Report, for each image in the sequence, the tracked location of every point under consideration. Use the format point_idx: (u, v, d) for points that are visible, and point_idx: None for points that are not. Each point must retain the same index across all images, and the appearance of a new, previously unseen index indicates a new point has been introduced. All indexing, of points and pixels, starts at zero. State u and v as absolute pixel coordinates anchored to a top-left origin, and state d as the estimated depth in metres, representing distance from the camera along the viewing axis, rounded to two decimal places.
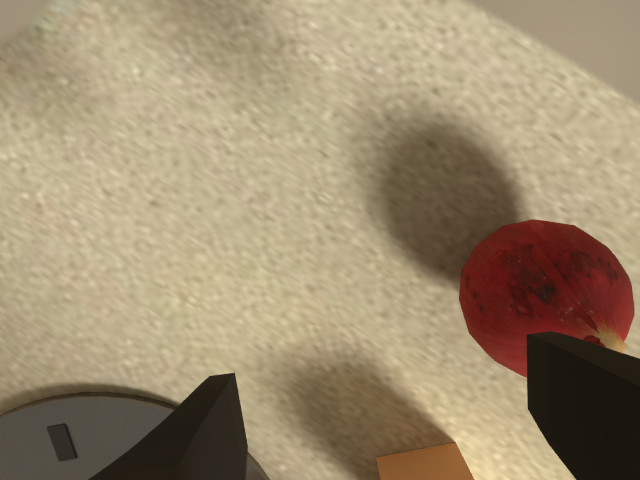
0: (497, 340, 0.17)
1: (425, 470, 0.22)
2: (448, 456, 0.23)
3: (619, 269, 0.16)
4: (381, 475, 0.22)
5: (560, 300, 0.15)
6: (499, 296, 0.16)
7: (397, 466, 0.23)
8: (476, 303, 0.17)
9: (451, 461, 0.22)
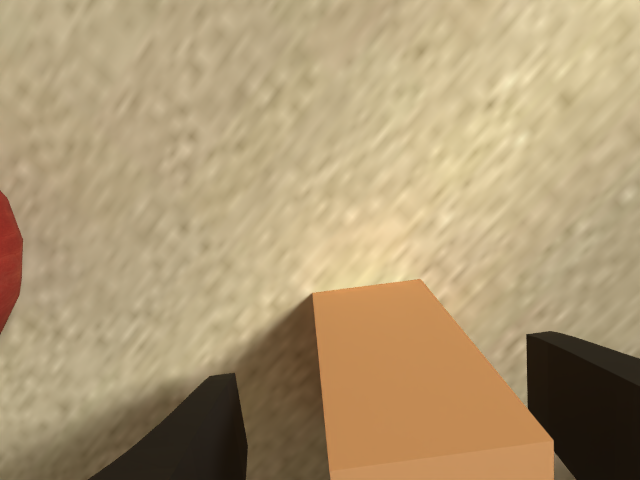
0: None
1: None
2: None
3: None
4: None
5: None
6: None
7: None
8: None
9: None
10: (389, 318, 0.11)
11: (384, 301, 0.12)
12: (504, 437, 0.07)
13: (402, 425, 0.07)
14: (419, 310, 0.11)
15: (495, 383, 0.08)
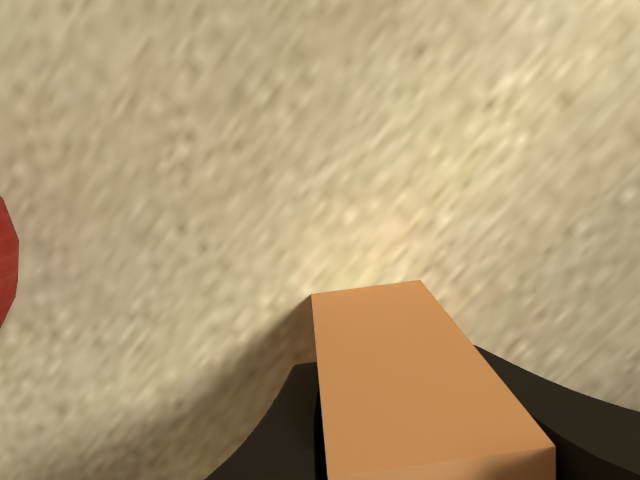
0: None
1: None
2: None
3: None
4: None
5: None
6: None
7: None
8: None
9: None
10: (389, 320, 0.11)
11: (383, 303, 0.12)
12: (505, 442, 0.06)
13: (402, 430, 0.07)
14: (418, 311, 0.11)
15: (495, 386, 0.08)
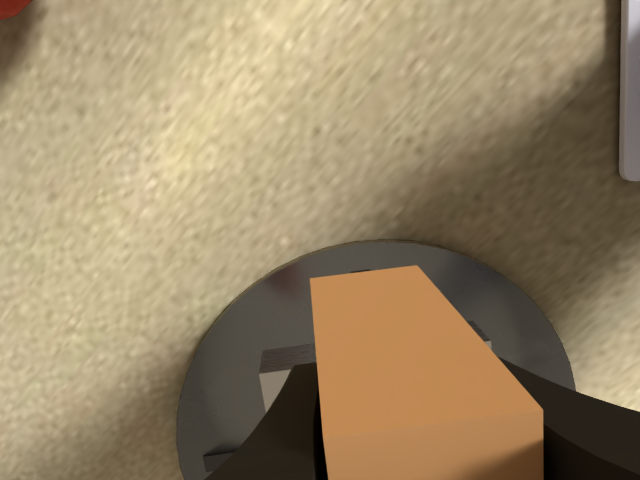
0: None
1: None
2: None
3: None
4: None
5: None
6: None
7: None
8: None
9: None
10: (385, 300, 0.11)
11: (380, 285, 0.12)
12: (495, 407, 0.07)
13: (396, 397, 0.07)
14: (415, 293, 0.11)
15: (487, 358, 0.08)
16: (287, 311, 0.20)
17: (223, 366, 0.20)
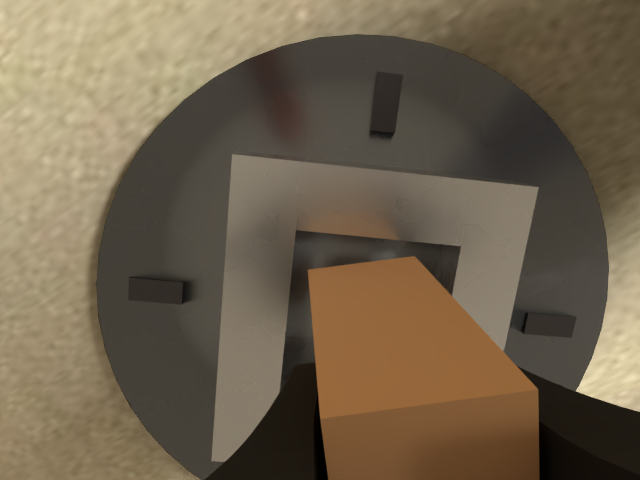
0: None
1: None
2: None
3: None
4: None
5: None
6: None
7: None
8: None
9: None
10: (382, 289, 0.11)
11: (378, 275, 0.12)
12: (490, 388, 0.07)
13: (392, 380, 0.07)
14: (412, 282, 0.11)
15: (483, 342, 0.08)
16: (284, 105, 0.15)
17: (185, 160, 0.15)
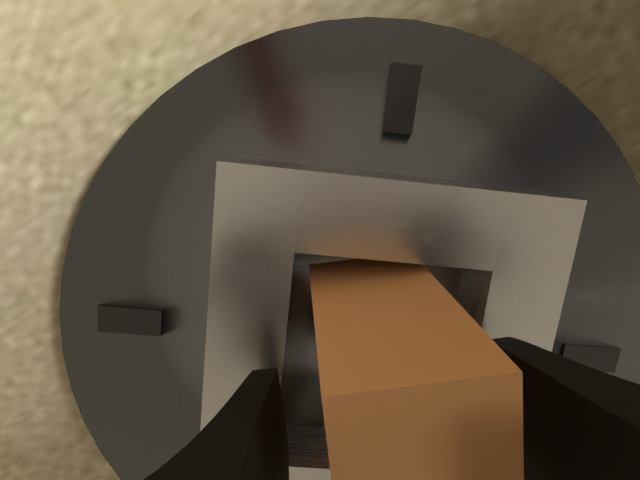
0: None
1: None
2: None
3: None
4: None
5: None
6: None
7: None
8: None
9: None
10: (380, 283, 0.12)
11: (376, 270, 0.13)
12: (479, 370, 0.07)
13: (388, 363, 0.08)
14: (408, 276, 0.12)
15: (473, 331, 0.09)
16: (281, 101, 0.13)
17: (162, 167, 0.13)
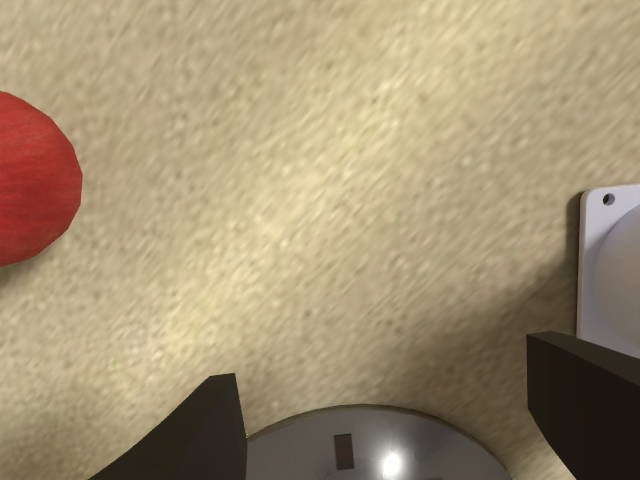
0: None
1: None
2: None
3: None
4: None
5: None
6: None
7: None
8: None
9: None
10: None
11: None
12: None
13: None
14: None
15: None
16: (275, 467, 0.22)
17: None
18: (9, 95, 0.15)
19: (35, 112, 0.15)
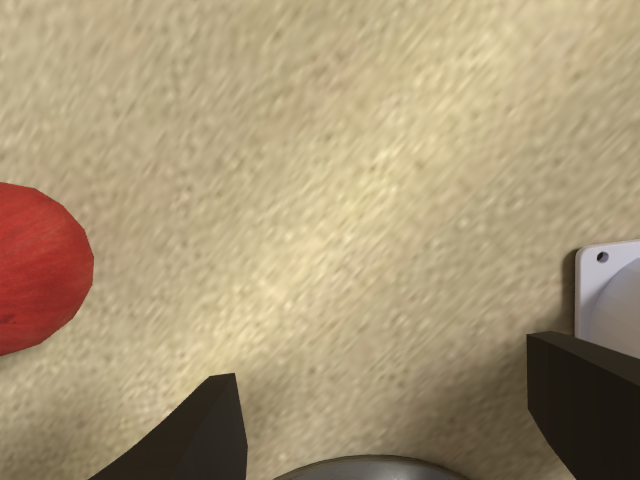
0: (0, 352, 0.15)
1: None
2: None
3: None
4: None
5: None
6: None
7: None
8: None
9: None
10: None
11: None
12: None
13: None
14: None
15: None
16: None
17: None
18: (23, 189, 0.16)
19: (48, 205, 0.16)
